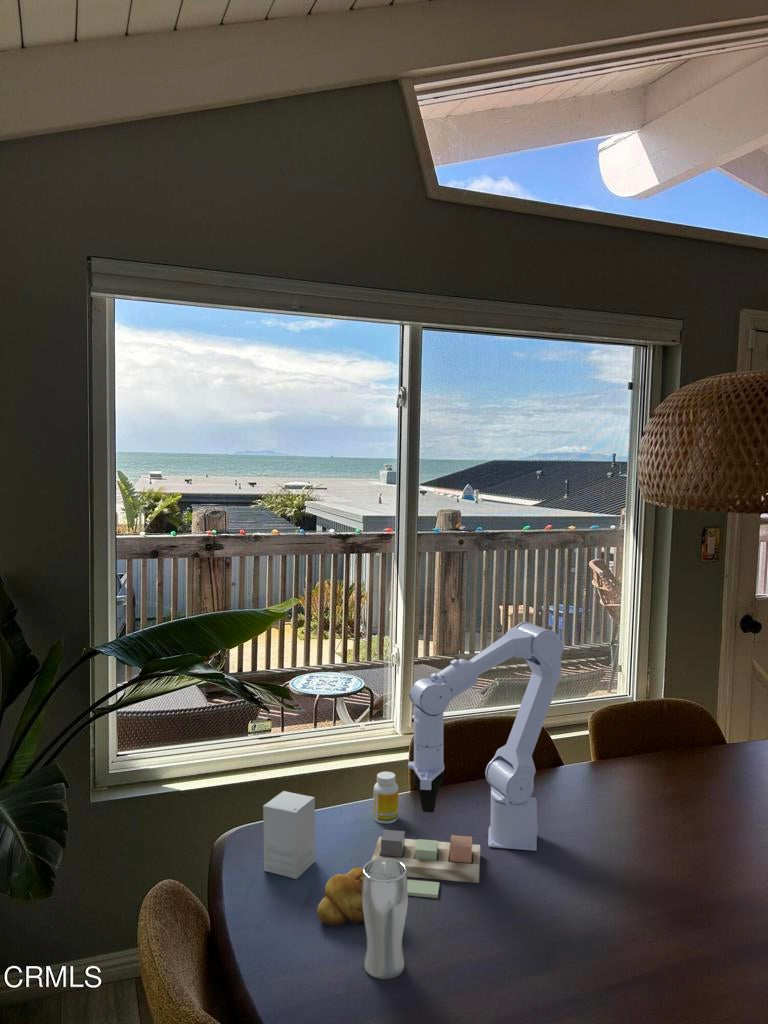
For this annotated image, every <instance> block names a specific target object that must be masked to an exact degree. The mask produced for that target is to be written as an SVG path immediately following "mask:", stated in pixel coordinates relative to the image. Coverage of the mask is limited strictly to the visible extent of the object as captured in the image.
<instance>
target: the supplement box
mask: <svg viewBox="0 0 768 1024" xmlns="http://www.w3.org/2000/svg"><path fill="white" fill-rule="evenodd" d="M315 801H316V798H315V797H314V796H311V795H304V794H300V793H296V792H295V793H294V792H290V791H286V790H283V791H281V792H280V793H279V794H277V795H276V796H274V797H273V798H272V799H270V801H268V802H266V803H265V804H264V805H262V811H263V812H262V814H263V818H262V819H263V864H264V865H263V871H264V872H267V873H271V874H276V875H279V876H282V877H286V878H287V877H288V878H290V879H295V880H297V879H298V878H300V877H301V876H302V875H303V873H305V871H307V870H308V869H309V868H310V867H312V865H313V864H314V863H315V862H316V804H315V803H316V802H315Z"/></svg>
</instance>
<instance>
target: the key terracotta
mask: <svg viewBox="0 0 768 1024" xmlns="http://www.w3.org/2000/svg"><path fill="white" fill-rule="evenodd" d="M472 844H473V836H466V835H465V836H464V835H454V834H452V835H451V836H450V860H449V862H455V863H467V864H472V861H471V860H472Z"/></svg>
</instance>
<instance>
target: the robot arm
mask: <svg viewBox="0 0 768 1024" xmlns="http://www.w3.org/2000/svg"><path fill="white" fill-rule="evenodd" d="M564 648H565V645H564V643H563V642H562V640H561V638H560V636H559V634H557V632H556V631H554V630H550V629H547V628H543V627H541V626H538V625H535V624H533V623H532V622H529V621H522V622H519V623H518V624H517V625H515V627H514V626H513V627H511V628H508V630H507V631H506V632H505V634H504V635H503V636H502V637H500V638H499V639H497V640H496V641H494V642H492V644H491V645H489V646H487V647H486V648H484V649H483V650H482V651H480V652H479V653H478V654H476V655H474V656H473V657H472V658H470V659H469V660H467V659H464V658H459V659H455V658H454V659H453V660H450V662H449V663H450V664H449V665H448V666H446V667H445V668H443V669H441V670H440V671H437V673H435V672H433V673H431V674H430V677H429V678H427V677H426V678H420V679H419V680H417V681H416V682H415V683H414V684H413V686H412V687H411V690H410V691H409V692H408V696H409V700H410V702H411V703H412V704H413V709H414V711H413V761H409V762H408V763H407V769H409V770H413V771H414V774H413V778H412V779H413V780H412V781H413V783H414V786H415V787H416V789H417V791H418V795H419V800H420V804H421V809H422V812H423V813H432V814H433V813H434V812H435V810H436V809H435V808H436V802H437V797H438V793H439V791H440V790H439V789H440V788H441V786H442V784H443V781H444V771H445V763H444V712H445V711H446V710H447V708H448V706H449V704H450V702H451V701H453V699H455V698H457V696H459V695H462V694H463V693H464V692H466V691H467V690H469V689H471V688H472V687H474V686H476V685H477V683H478V680H479V676H481V674H484V673H486V672H487V671H489V670H491V669H493V668H494V667H496V666H499V665H500V664H502V663H504V662H506V661H508V660H509V659H511V658H521V659H525V661H526V663H527V664H528V666H529V667H528V668H529V669H530V671H531V675H530V678H529V681H528V684H527V687H526V690H525V692H524V694H523V697H522V701H521V703H520V705H519V708H518V710H517V714H516V717H515V719H514V722H513V725H512V728H511V731H510V733H509V736H508V738H507V741H506V744H504V745H503V746H501V747H499V748H498V749H497V750H496V752H495V754H494V756H493V758H491V760H490V761H489V762H488V763H487V765H486V768H485V772H484V774H485V779H486V781H487V783H488V784H489V785H490V825H489V826H488V834H487V835H488V838H487V839H488V840H487V844H488V845H487V846H488V847H489V848H495V849H496V848H498V849H508V850H510V849H511V850H512V849H513V850H524V851H532V852H533V851H535V852H536V851H537V841H538V840H537V839H538V835H539V826H538V803H537V798H536V797H532V794H533V792H534V787H535V783H534V780H535V779H534V777H535V774H536V772H537V771H536V766H535V763H534V760H533V759H534V758H533V754H534V751H535V748H536V745H537V743H538V740H539V737H540V735H541V731H542V728H543V725H544V723H545V720H546V718H547V715H548V712H549V709H550V707H551V704H552V700H553V699H554V695H555V693H556V690H557V687H558V685H559V681H560V679H561V676H562V655H563V652H564Z"/></svg>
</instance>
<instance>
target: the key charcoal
mask: <svg viewBox="0 0 768 1024" xmlns="http://www.w3.org/2000/svg"><path fill="white" fill-rule="evenodd" d="M405 832H406V831H405V830H394V829H393V830H392V829H390V830H389V829H383V833H382V835H381V837H382V839H381V855H382V856H386V857H397V858H403V856H402V855H403V851H404V847H405V839H406V838H405V837H406V835H405V834H406V833H405Z"/></svg>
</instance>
